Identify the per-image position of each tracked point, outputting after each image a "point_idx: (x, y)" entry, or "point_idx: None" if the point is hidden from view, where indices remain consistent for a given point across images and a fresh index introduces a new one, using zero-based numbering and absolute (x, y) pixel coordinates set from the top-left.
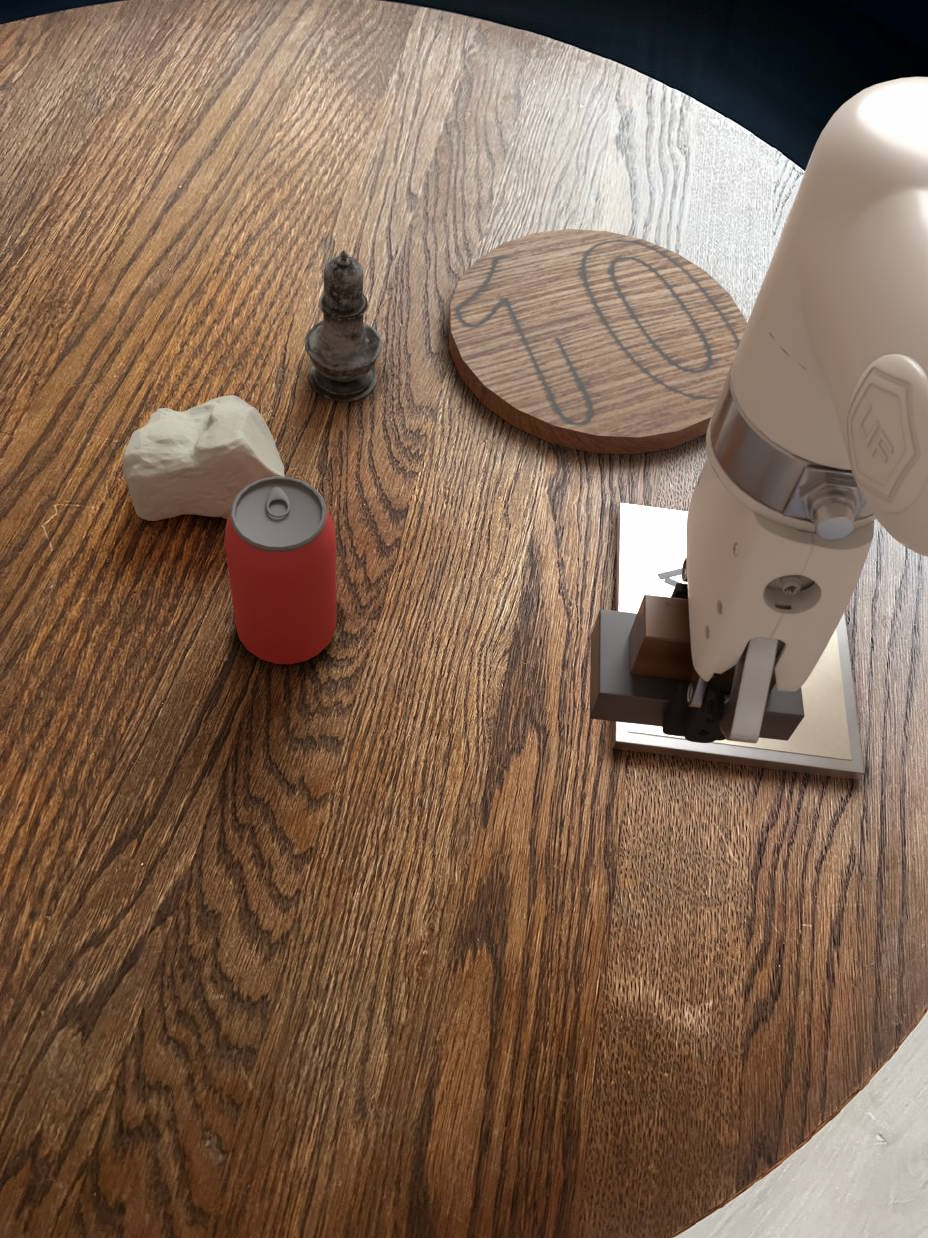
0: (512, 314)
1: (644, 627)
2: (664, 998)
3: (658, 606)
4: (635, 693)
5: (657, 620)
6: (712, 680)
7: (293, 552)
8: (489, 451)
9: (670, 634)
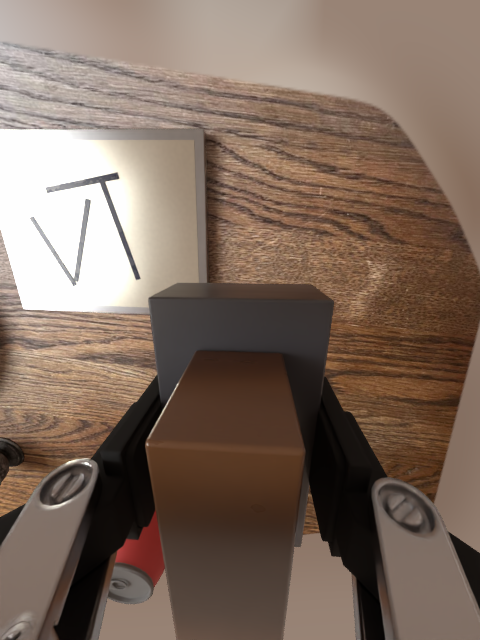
0: None
1: None
2: (364, 289)
3: None
4: (298, 516)
5: None
6: (351, 555)
7: (149, 573)
8: (20, 381)
9: None
